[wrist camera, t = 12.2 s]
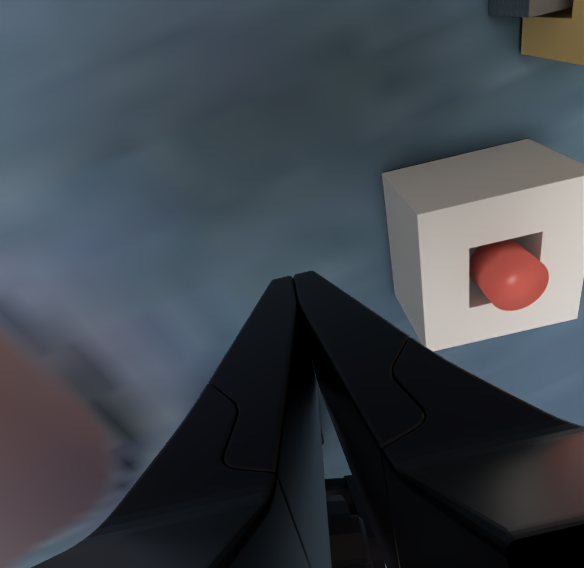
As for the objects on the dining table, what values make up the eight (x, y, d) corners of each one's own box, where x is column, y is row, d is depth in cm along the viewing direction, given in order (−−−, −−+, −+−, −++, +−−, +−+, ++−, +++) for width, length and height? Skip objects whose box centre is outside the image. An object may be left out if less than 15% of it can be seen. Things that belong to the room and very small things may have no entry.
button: (520, 278, 21) (546, 303, 19) (467, 290, 21) (488, 316, 19) (524, 230, 19) (551, 253, 18) (467, 243, 19) (489, 267, 18)
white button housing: (527, 263, 25) (585, 316, 21) (394, 294, 25) (426, 352, 21) (536, 136, 22) (610, 169, 17) (381, 173, 22) (417, 214, 18)
